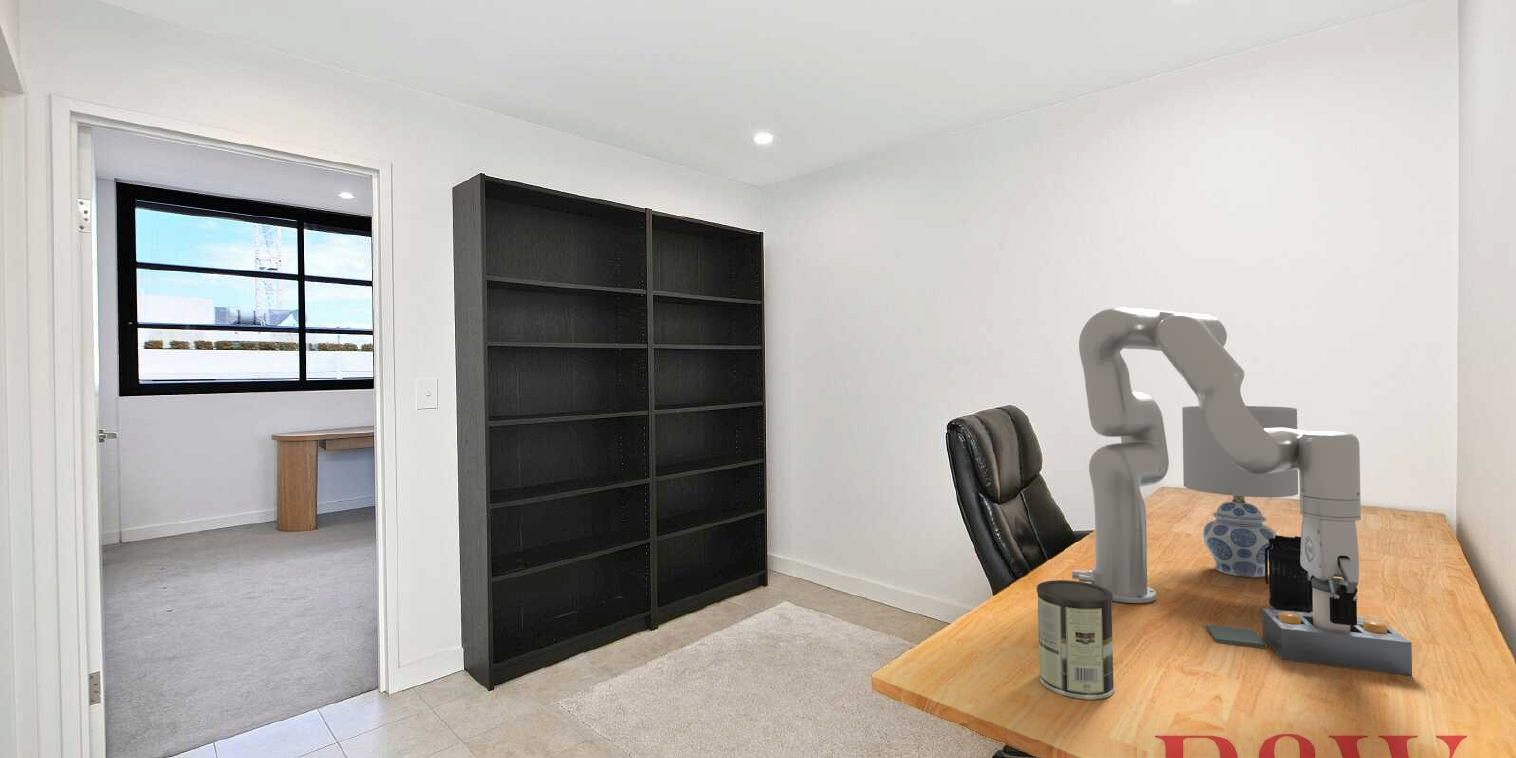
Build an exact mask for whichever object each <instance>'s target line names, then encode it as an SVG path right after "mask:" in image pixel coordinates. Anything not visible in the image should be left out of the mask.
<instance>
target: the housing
mask: <svg viewBox="0 0 1516 758" xmlns="http://www.w3.org/2000/svg"><path fill="white" fill-rule="evenodd" d="M1261 611H1262V612H1261V622H1262V624H1261V625H1262V639H1264V641H1265V642H1266V643H1267V644H1268V645H1269V646H1270V648H1271V649H1272V650H1273V651H1274V652H1275V654H1277V656H1278V657H1279V658H1280V659H1281V660H1282V661H1290V662H1300V663H1307V664H1314V665H1322V666H1331V667H1341V668H1348V669H1356V670H1362V671H1363V670H1364V671H1371V672H1381V673H1388V674H1395V675H1397V674H1398V675H1404V676H1411V677H1412V676H1413V651H1412V650H1413V648H1412V647H1413V645H1412V641H1410V640H1409V639H1407V638H1406V637H1404V636H1403V635H1402V634H1400V633H1399V632H1397V631H1396V630H1395V629H1393V628H1392V627H1390V626H1389V625H1388V624H1386V623H1385V622H1384V621H1382V620H1380V619H1373V618H1362V617H1357V625H1355V626H1352V625H1350V632H1346V631H1337V630H1327V629H1318V628H1315V627H1314V626H1313V612H1311V613H1304V612H1294V611H1284V610H1276V609H1275V608H1273V609H1272V608H1263V607H1262V609H1261ZM1279 612H1290V613H1295V614H1298V615H1300V616H1301V624H1294V623H1285V622H1280V621H1279ZM1364 620H1372V621H1378V622H1381V623H1384V624H1386V625H1387V633H1379V632H1370V631H1365V630H1364V629H1363V621H1364Z"/></svg>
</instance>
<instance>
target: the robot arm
mask: <svg viewBox="0 0 1516 758" xmlns="http://www.w3.org/2000/svg"><path fill="white" fill-rule="evenodd" d="M1227 337H1228V334H1227V330H1226V328H1225V326H1224V324H1223V323H1222V322H1221V321H1220V320H1219V319H1218V318H1216V317H1214V316H1211V315H1209V314H1204V313H1203V314H1202V313H1201V314H1200V313H1187V312H1184V313H1182V312H1175V311H1165V310H1157V309H1156V310H1155V309H1146V308H1145V309H1144V308H1132V307H1130V308H1129V307H1113V308H1108V309H1107V308H1106V309H1104V310H1101V311H1099V312H1097V313H1095V314H1094V315H1092V316H1091V317H1090V318H1089V320H1088V321H1087V322H1086V323H1085V325H1084V326H1083V328H1082V330H1081V332H1080V336H1079V340H1078V341H1079V342H1078V349H1079V357H1080V361H1081V365H1082V369H1083V374H1084V375H1083V376H1084V385H1085V391H1086V398H1087V400H1086V401H1087V407H1088V415H1089V421H1090V424H1091V427H1092V429H1093V430H1094V431H1095V432H1096V433H1097V434H1098V435H1100V436H1102V437H1105V438H1107V437H1109V438H1120V441H1121V442H1120V443H1119V442H1118V443H1111V444H1106V445H1103V446H1101V447H1099V448H1098V449H1097V450H1096V451H1094V453H1093V454H1092V456H1091V457H1090V459H1089V463H1088V471H1089V476H1090V478H1089V479H1090V482H1091V485H1092V486H1091V487H1092V493H1093V503H1094V504H1093V505H1094V506H1093V507H1094V538H1095V541H1094V543H1095V544H1094V547H1095V551H1094V552H1095V566H1092V569H1088V571H1086V570H1083V571H1082V570H1080V569H1072V570H1071V578H1072V579H1073V580H1078V582H1085V583H1090V584H1094V585H1097V586H1100V587H1103V588H1105V589H1107V590H1109V591H1110V592H1111V593H1112V595H1113V600H1112V602H1118V603H1127V604H1144V603H1145V604H1146V603H1152V602H1154V601H1155V600H1156V599H1157V592H1156V591H1155V590H1154V589H1153V588H1151V587H1149V586H1148V553H1147V552H1148V551H1147V550H1148V549H1147V548H1148V547H1147V545H1148V544H1147V509H1146V504H1145V501H1144V497H1143V496H1142V493H1141V489H1140V488H1141V487H1147V486H1152V485H1155V484H1158V483H1160V482H1161V481H1162V480H1163V479H1164V478H1165V477H1166V475H1167V473H1168V471H1169V463H1170V462H1169V452H1168V446H1167V445H1168V444H1167V437H1166V433H1165V427H1164V426H1165V425H1164V424H1165V423H1164V419H1163V413H1162V411H1161V409H1160V407H1159V405H1158V403H1157V402H1156V400H1155V399H1154V398H1153V397H1152V396H1150V395H1148V394H1146V393H1144V392H1140V391H1133V390H1132V385H1131V376H1130V371H1129V368H1128V365H1127V363H1126V361H1125V360H1124V358H1123V356H1122V354H1121V351H1123V349H1125V350H1126V349H1128V350H1149V351H1150V350H1152V351H1157V352H1158V351H1159V352H1161V353H1162V354H1163V355H1164V356H1165V357H1166V358H1167V360H1168V361H1169V362H1170V364H1171V365H1172V366H1173V367H1174V368H1175V370H1176V371H1177V373H1179V375H1180V376H1181V377H1182V379H1183V380H1184V382H1185V383H1186V384H1187V386H1188V387H1189V388H1190V389H1191V391H1193V393H1194V394H1195V396H1196V397H1197V401H1198V402H1197V403H1198V406H1199V409H1200V412H1201V415H1202V418H1203V421H1204V424H1205V426H1206V428H1207V430H1208V431H1209V433H1210V434H1211V436H1212V437H1213V439H1214V440H1215V441H1216V443H1217V444H1218V445H1219V446H1220V448H1221V449H1222V450H1223V452H1224V453H1225V454H1226V455H1227V456H1228V458H1229V459H1230V460H1231V461H1232V462H1233V463H1234V464H1236V465H1237V466H1238V467H1239V468H1241V469H1243V470H1245V471H1247V472H1250V473H1254V474H1266V473H1272V472H1280V471H1288V470H1298V483H1299V515H1301V516H1302V519H1301V520H1302V521H1301V531H1300V537H1301V552H1300V564H1301V566H1302V567H1303V568H1304V569H1305V570H1306V571H1308V580H1311V581H1308V602H1309V604H1310V605H1313V587H1312V578H1314V577H1316V578H1317V579H1319V580H1321V581H1326V579H1328V580H1329V584H1330V588H1331V592H1332V596H1333V597H1329V598H1330V621H1331V622H1332V623H1334V624H1342V625H1352V626H1355V625H1357V618H1358V607H1357V606H1358V594H1357V593H1358V585H1359V579H1360V555H1359V554H1360V553H1359V543H1358V542H1359V541H1358V532H1357V525H1356V522H1358V521H1361V520H1362V514H1361V512H1362V511H1361V509H1362V508H1361V507H1362V504H1361V502H1362V501H1361V459H1360V458H1361V456H1360V441H1359V439H1358V437H1357V436H1356V435H1355V434H1353V433H1349V432H1344V431H1343V432H1342V431H1328V430H1327V431H1324V430H1323V431H1322V430H1320V431H1319V430H1317V431H1309V430H1308V431H1307V430H1300V429H1297V430H1296V429H1290V428H1265V429H1264V428H1263V427H1262V426H1261V425H1260V424H1259V423H1258V421H1257V420H1256V419H1255V418H1254V417H1253V415H1252V414H1251V413H1250V412H1249V410H1248V409H1247V407H1246V406H1247V405H1246V404H1245V401H1244V400H1243V397H1242V393H1241V386H1242V383H1243V381H1244V379H1245V371H1244V370H1243V368H1242V367H1241V365H1239V363H1238V362H1237V361H1236V360H1235V359H1234V358H1233V356H1231V355H1230V353H1229V352H1228V351H1227V350H1226V349H1225V345H1226V343H1227V339H1228V338H1227ZM1337 584H1340V585H1341V586H1340V588H1339V589H1338V588H1337Z"/></svg>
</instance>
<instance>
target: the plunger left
mask: <svg viewBox="0 0 1516 758" xmlns="http://www.w3.org/2000/svg"><path fill="white" fill-rule="evenodd" d="M1279 621H1280V622H1285V623H1294V624H1301V616H1300V615H1298V614H1295V613H1290V612H1279Z"/></svg>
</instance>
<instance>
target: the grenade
mask: <svg viewBox="0 0 1516 758" xmlns="http://www.w3.org/2000/svg"><path fill="white" fill-rule="evenodd" d="M1269 543H1270V546H1268V547H1267V548H1265V576H1264V582H1265V584H1266V585H1269V587H1268V588H1269V589H1268V590H1269V599H1268V604H1269V605H1270V606H1271V607H1272V608H1273V609H1274V610H1284V611H1294V612H1304V613H1313V605H1310V604H1309V602H1308V581H1311V580H1308V571H1306V570H1305V569H1304V568H1303V567H1302V566H1301V564H1300V552H1301V536H1297V535H1295V536H1283V535H1277V534H1276V535H1275V538H1269ZM1272 545H1273V548H1272ZM1271 548H1272V549H1271ZM1268 550H1269V562H1268Z"/></svg>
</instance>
